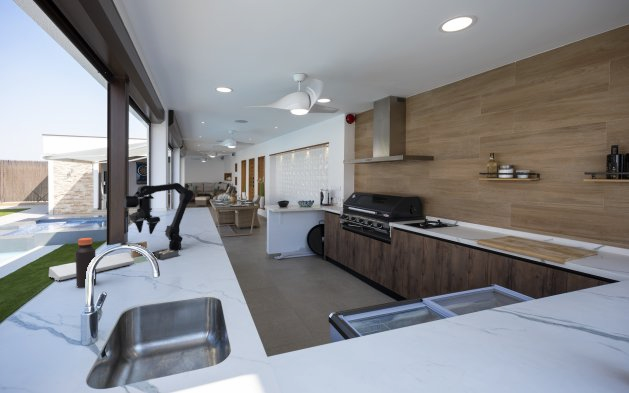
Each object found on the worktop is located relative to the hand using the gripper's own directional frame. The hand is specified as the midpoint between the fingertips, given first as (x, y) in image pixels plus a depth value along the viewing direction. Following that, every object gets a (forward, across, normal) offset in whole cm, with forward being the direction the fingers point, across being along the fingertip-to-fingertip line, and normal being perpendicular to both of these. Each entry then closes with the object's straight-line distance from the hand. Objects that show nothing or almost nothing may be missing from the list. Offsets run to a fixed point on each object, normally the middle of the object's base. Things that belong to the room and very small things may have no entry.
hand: (145, 233), depth 186 cm
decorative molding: (+13, +7, -32) cm, 35 cm away
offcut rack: (+13, +14, +1) cm, 19 cm away
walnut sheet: (+12, +11, -12) cm, 21 cm away
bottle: (+13, +24, -46) cm, 54 cm away
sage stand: (+13, +11, -12) cm, 21 cm away
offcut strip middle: (+12, +14, +1) cm, 19 cm away
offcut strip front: (+12, +17, +1) cm, 21 cm away
